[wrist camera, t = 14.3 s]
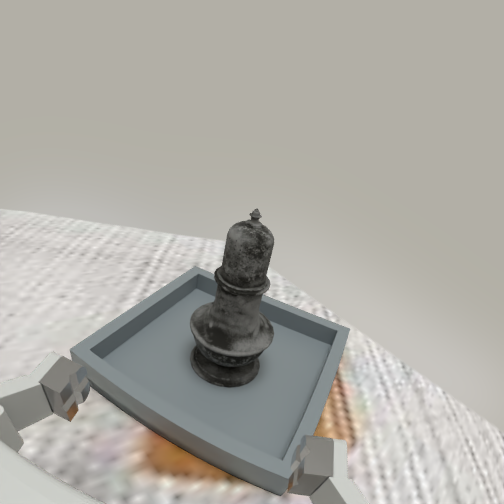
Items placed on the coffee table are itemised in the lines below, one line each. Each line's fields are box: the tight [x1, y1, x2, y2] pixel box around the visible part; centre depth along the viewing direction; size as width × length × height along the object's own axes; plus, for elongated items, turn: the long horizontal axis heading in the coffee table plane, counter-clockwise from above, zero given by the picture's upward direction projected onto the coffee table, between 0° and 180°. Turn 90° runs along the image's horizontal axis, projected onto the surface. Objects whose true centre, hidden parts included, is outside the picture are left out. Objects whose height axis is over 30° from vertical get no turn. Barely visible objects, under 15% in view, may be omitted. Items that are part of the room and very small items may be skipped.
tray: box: [70, 266, 350, 496], centre depth 23 cm, size 16×16×2 cm
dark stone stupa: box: [190, 209, 274, 388], centre depth 21 cm, size 6×6×12 cm
